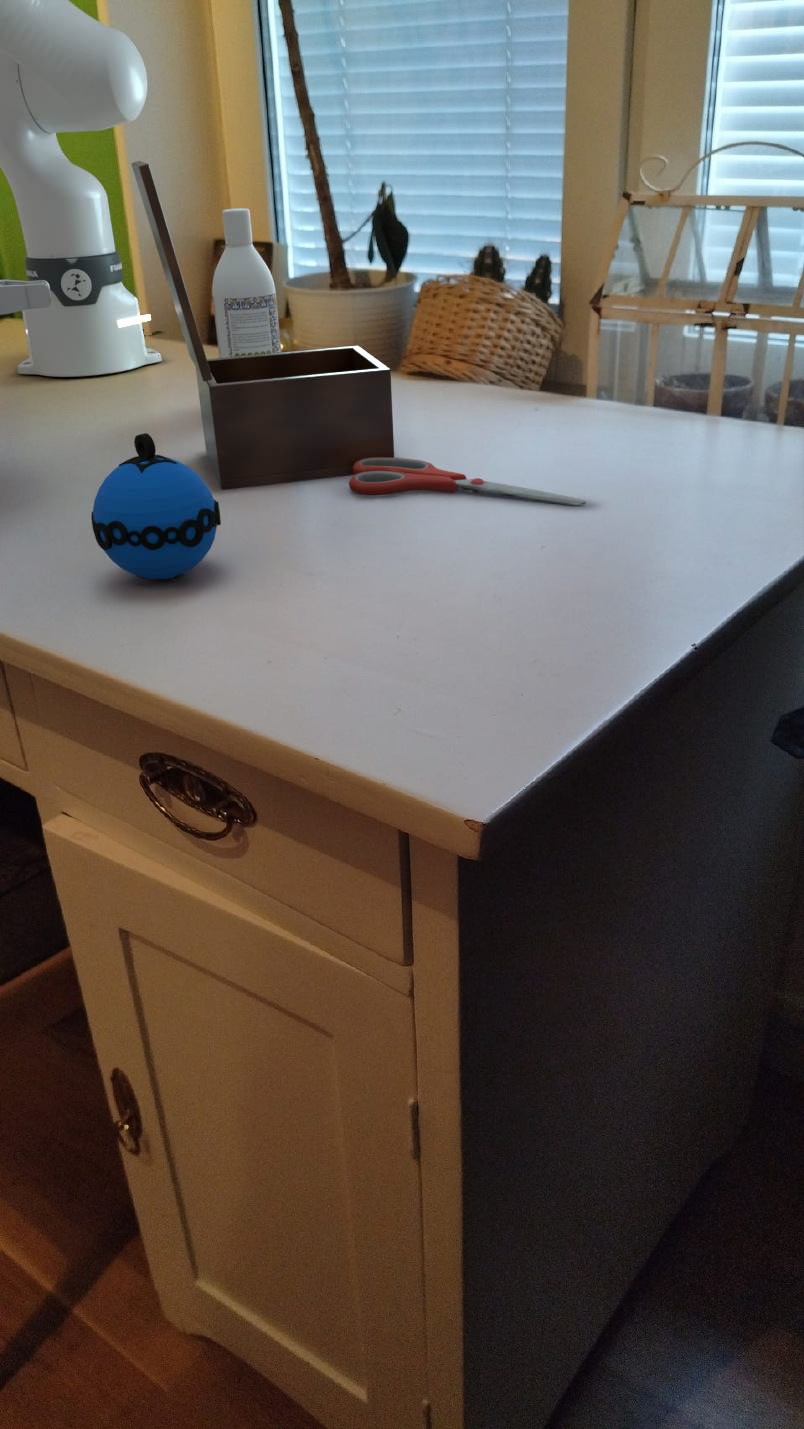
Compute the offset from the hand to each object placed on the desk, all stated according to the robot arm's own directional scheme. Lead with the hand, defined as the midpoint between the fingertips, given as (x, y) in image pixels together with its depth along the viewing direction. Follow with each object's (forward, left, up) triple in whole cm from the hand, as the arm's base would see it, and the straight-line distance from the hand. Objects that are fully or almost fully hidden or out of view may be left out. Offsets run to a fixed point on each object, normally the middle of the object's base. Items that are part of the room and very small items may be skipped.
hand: (50, 293), depth 91 cm
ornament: (+26, +5, -16) cm, 31 cm away
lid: (0, +10, +1) cm, 10 cm away
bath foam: (-28, +19, -16) cm, 38 cm away
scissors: (+14, +31, -16) cm, 38 cm away
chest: (0, +19, -16) cm, 25 cm away
